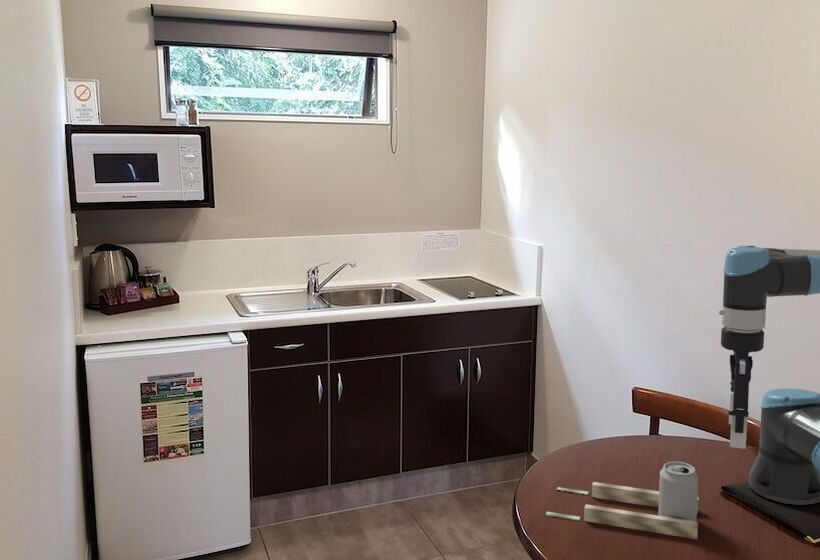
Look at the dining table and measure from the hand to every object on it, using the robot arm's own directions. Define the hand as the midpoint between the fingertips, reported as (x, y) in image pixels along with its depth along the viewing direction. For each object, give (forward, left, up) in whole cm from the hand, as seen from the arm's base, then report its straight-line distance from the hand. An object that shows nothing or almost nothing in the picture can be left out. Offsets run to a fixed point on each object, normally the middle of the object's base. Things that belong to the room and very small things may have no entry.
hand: (736, 435), depth 144 cm
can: (+10, 0, -20) cm, 23 cm away
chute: (+21, 0, -20) cm, 29 cm away
